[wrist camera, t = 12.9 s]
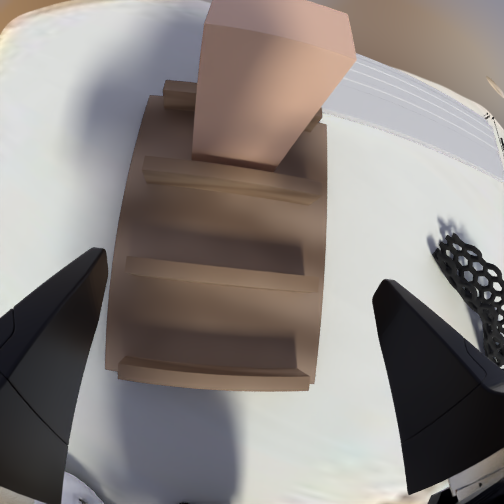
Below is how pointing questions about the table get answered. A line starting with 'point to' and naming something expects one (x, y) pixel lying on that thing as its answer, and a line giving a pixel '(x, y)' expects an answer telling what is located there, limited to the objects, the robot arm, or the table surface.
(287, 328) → the drying rack
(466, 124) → the baseboard molding
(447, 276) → the decorative element
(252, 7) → the pinkish tan block
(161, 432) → the table surface
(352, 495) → the table surface
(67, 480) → the baby figurine
